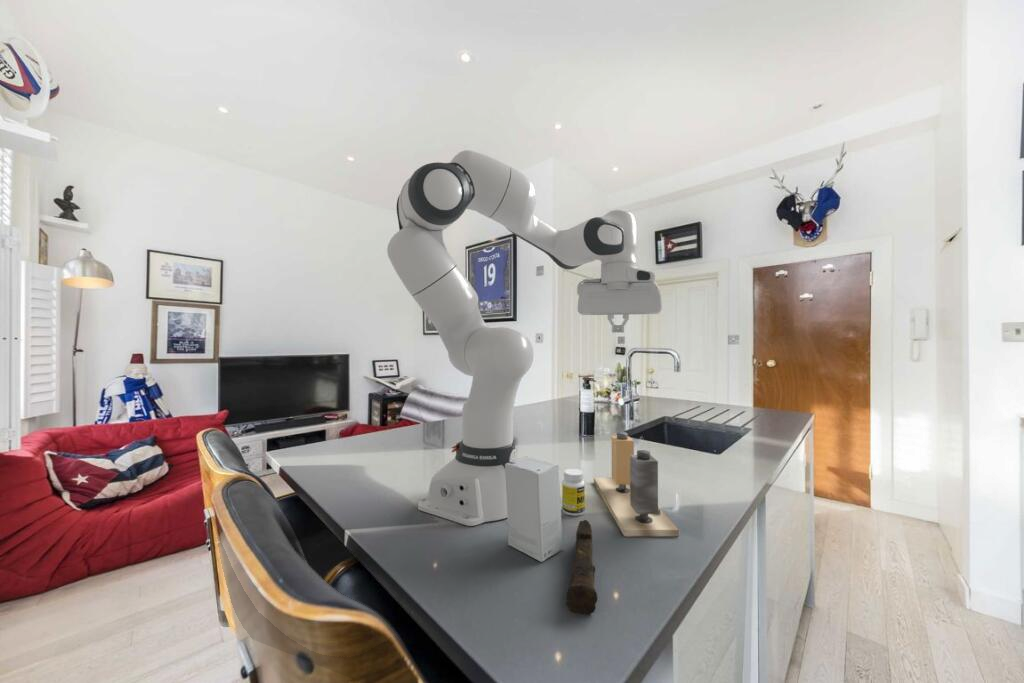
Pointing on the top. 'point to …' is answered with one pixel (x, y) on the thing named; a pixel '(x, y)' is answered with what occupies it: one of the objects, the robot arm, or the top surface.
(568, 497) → the supplement bottle
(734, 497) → the top surface
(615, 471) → the block
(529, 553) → the skincare box
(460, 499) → the robot arm
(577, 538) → the hand tool
